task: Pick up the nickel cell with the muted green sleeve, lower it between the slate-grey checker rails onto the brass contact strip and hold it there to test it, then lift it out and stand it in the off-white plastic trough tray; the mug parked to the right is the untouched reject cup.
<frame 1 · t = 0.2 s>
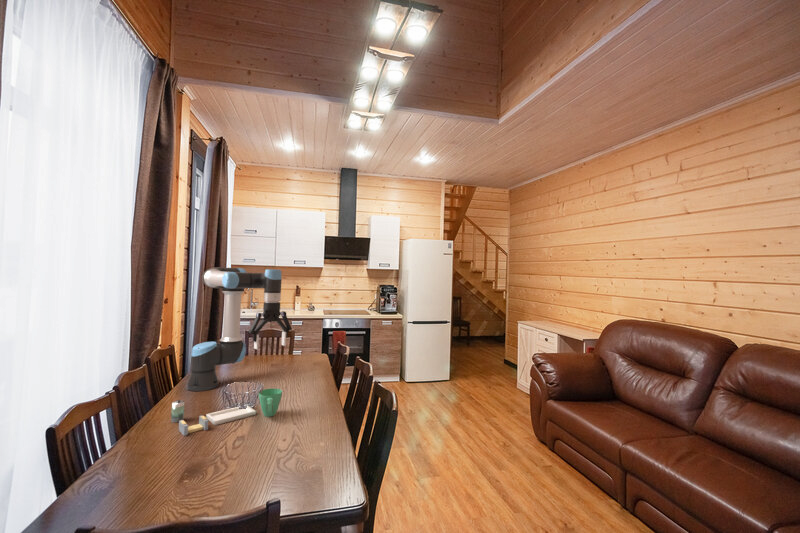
hand: (270, 347, 169), 28 cm above the table, fingers open, 13 cm apart
mug: (269, 417, 156), on the table
cradle: (193, 429, 141), on the table
cell: (177, 420, 149), on the table
tray: (231, 416, 155), on the table
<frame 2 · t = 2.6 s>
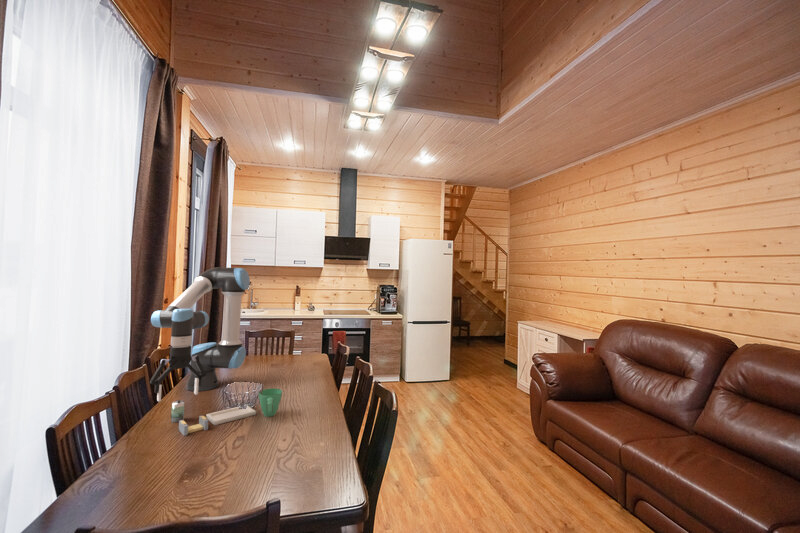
hand: (177, 397, 149), 10 cm above the table, fingers open, 13 cm apart
nothing on the table moved.
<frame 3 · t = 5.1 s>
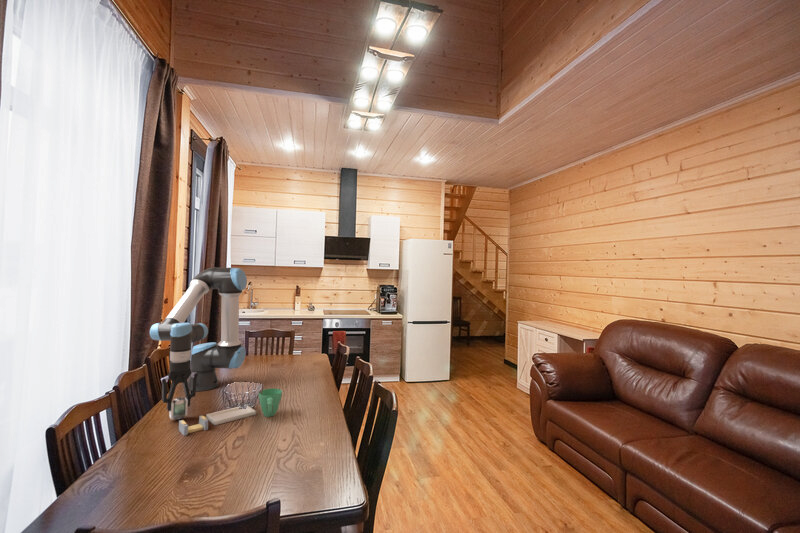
hand: (178, 416, 150), 2 cm above the table, fingers closed on cell, 4 cm apart
cell: (178, 417, 150), point 1 cm above the table, touching gripper
everything else where it was.
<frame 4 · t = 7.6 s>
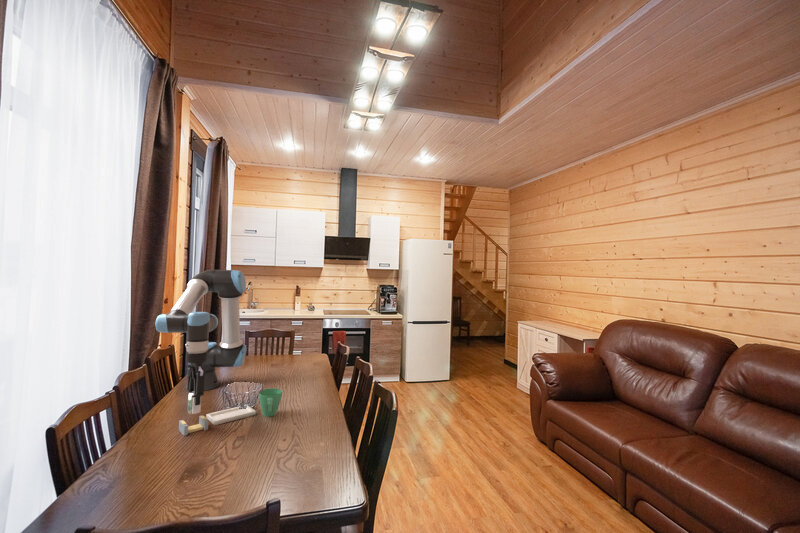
hand: (194, 410, 141), 7 cm above the table, fingers closed on cell, 4 cm apart
cell: (193, 412, 141), point 7 cm above the table, touching gripper
everything else where it was.
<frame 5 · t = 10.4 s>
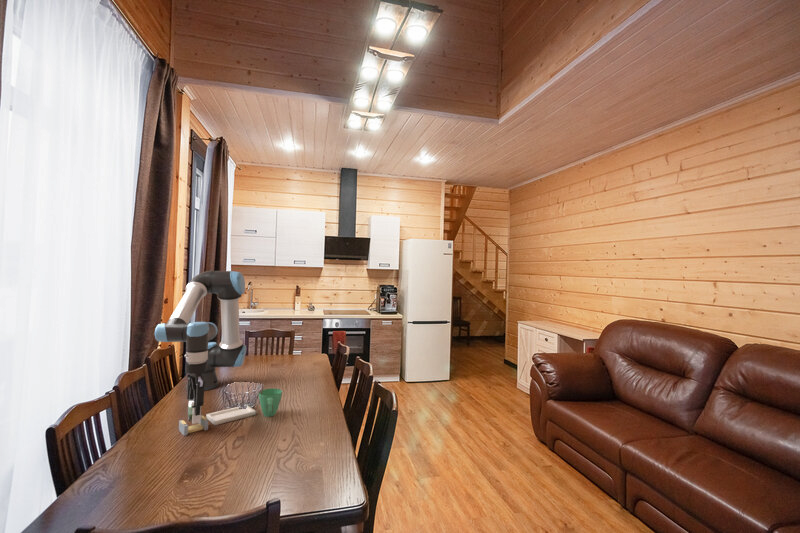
hand: (194, 420, 142), 3 cm above the table, fingers closed on cell, 4 cm apart
cell: (194, 419, 142), point 4 cm above the table, touching gripper
everything else where it was.
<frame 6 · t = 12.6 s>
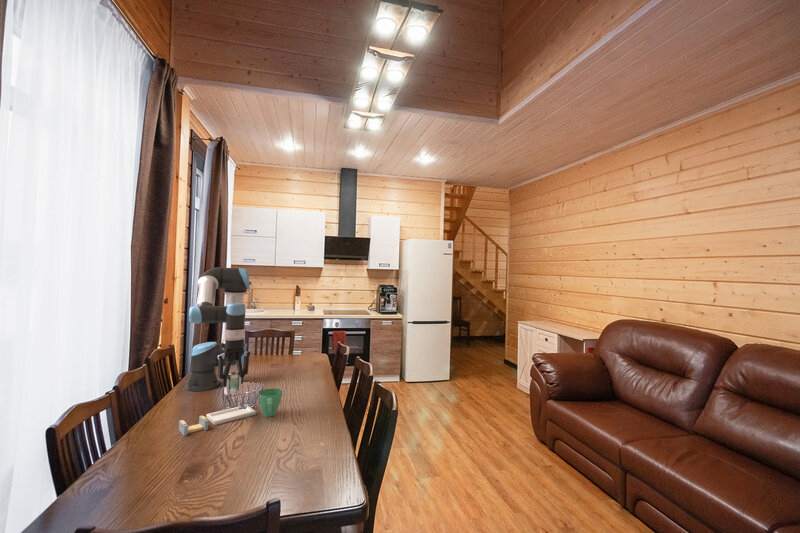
hand: (232, 392, 156), 10 cm above the table, fingers closed on cell, 4 cm apart
cell: (232, 391, 156), point 11 cm above the table, touching gripper
everything else where it was.
when the fingers open (1 cm above the table, at t = 14.7 s): cell drops 1 cm, resting on tray.
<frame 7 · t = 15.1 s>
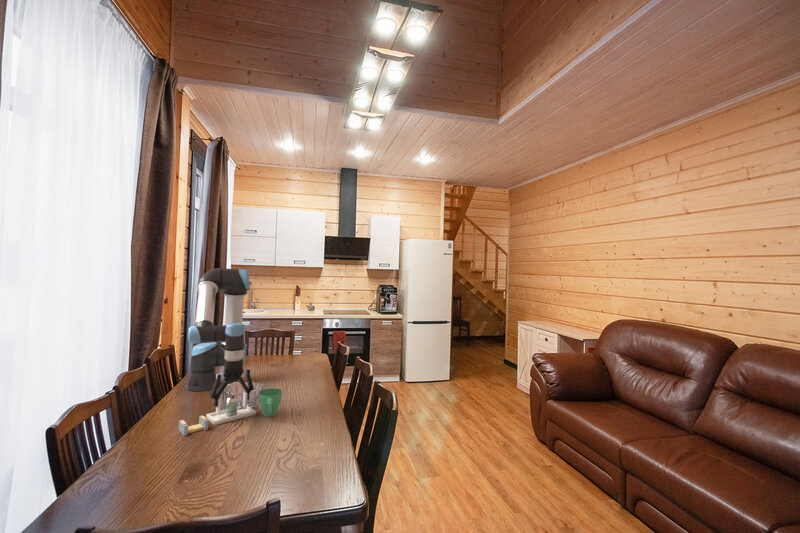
hand: (231, 410, 156), 2 cm above the table, fingers open, 10 cm apart
cell: (231, 414, 156), point 1 cm above the table, touching tray
everything else where it was.
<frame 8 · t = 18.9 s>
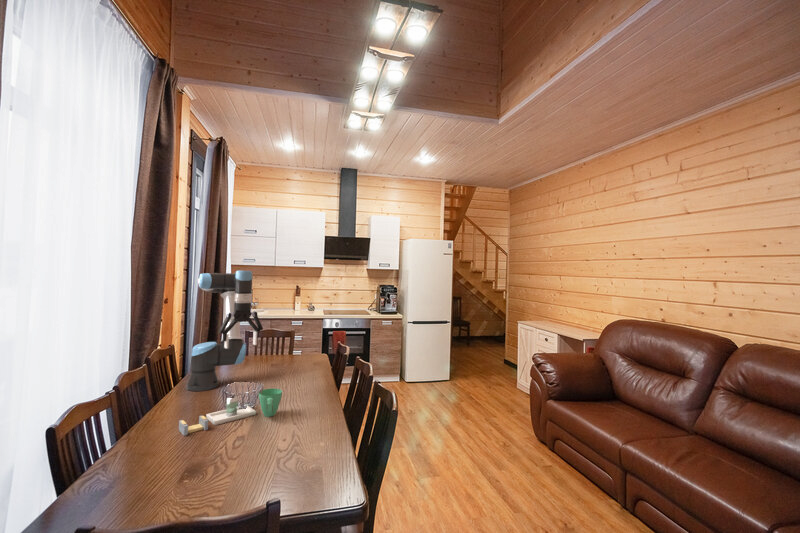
hand: (240, 346, 173), 27 cm above the table, fingers open, 13 cm apart
nothing on the table moved.
at the end: cell inside the target area on the tray (0.0 cm from its centre), point 0.6 cm above the tray's base; cell tilted 0°; the gripper is holding nothing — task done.
